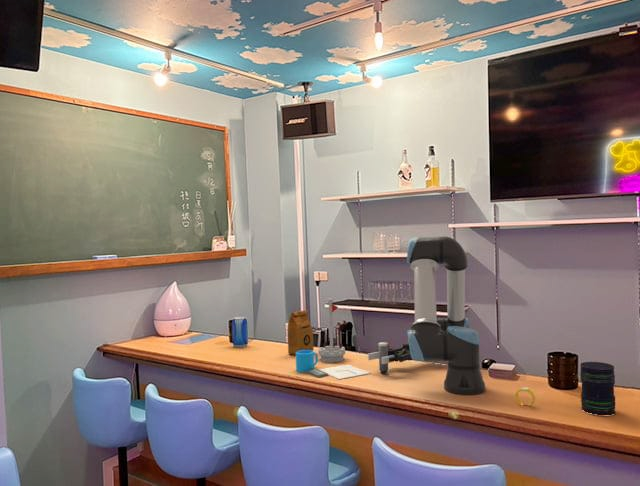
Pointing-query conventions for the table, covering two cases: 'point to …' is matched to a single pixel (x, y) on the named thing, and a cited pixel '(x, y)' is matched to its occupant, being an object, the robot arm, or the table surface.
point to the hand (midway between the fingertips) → (375, 358)
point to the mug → (305, 360)
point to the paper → (344, 372)
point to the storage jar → (597, 388)
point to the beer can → (240, 332)
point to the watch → (527, 391)
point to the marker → (383, 353)
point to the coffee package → (299, 332)
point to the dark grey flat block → (317, 373)
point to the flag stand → (331, 341)
